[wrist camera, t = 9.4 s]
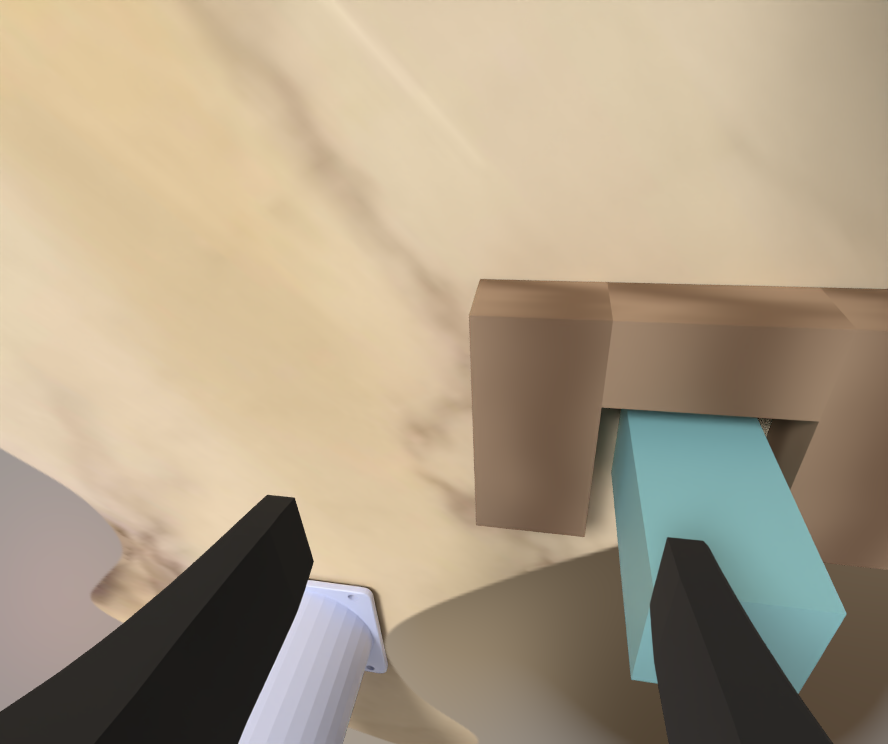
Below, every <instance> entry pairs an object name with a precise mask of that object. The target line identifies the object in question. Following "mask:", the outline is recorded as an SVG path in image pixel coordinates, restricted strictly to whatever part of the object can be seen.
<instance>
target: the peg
mask: <svg viewBox="0 0 888 744" xmlns="http://www.w3.org/2000/svg"><path fill="white" fill-rule="evenodd" d="M611 474H612V485H613V495H614V506H615V516H616V527H617V537H618V548H619V557H620V569H621V579H622V588H623V589H622V590H623V599H624V611H625V620H626V631H627V642H628V653H629V663H630V673H631V679H632V680H638V681H645V682H651V683H658V682H657V677H656V671H655V665H654V656H653V645H652V632H651V618H650V601H651V597H652V593H653V589H654V585H655V581H656V578H657V574H658V570H659V566H660V562H661V559H662V555H663V551H664V547H665V543H666V539H667V537H673V538H682V539H692V540H701V541H704V542H705V543H706V544H707V545H708V546H709V548H710V550H711V552H712V554H713V555H714V557H715V559H716V561H717V563H718V565H719V567H720V568H721V570H722V572H723V574H724V576H725V577H726V579H727V581H728V583H729V584H730V586H731V588H732V590H733V591H734V593H735V595H736V597H737V598H738V600H739V602H740V603H741V605H742V607H743V608H744V610H745V612H746V613H747V615H748V617H749V619H750V620H751V622H752V623H753V625H754V627H755V628H756V630H757V631H758V633H759V635H760V636H761V638H762V640H763V641H764V643H765V644H766V646H767V647H768V649H769V650H770V652H771V653H772V655H773V656H774V658H775V660H776V661H777V663H778V664H779V666H780V667H781V669H782V670H783V672H784V673H785V675H786V677H787V678H788V680H789V681H790V683H791V684H792V686H793V687H794V688H795V690H796V691H797V693H799V692H800V690H801V688H802V687H803V685H804V683H805V682H806V680H807V679H808V677H809V675H810V673H811V672H812V670H813V669H814V667H815V665H816V664H817V662H818V660H819V659H820V657H821V655H822V654H823V652H824V650H825V649H826V647H827V645H828V644H829V642H830V640H831V639H832V637H833V635H834V634H835V632H836V631H837V629H838V627H839V626H840V624H841V622H842V621H843V619H844V617H845V615H846V612H845V610H844V607H843V605H842V603H841V601H840V599H839V597H838V594H837V592H836V590H835V588H834V586H833V583H832V581H831V579H830V577H829V574H828V572H827V570H826V568H825V566H824V563H823V561H822V559H821V557H820V555H819V553H818V550H817V548H816V546H815V544H814V542H813V539H812V537H811V535H810V533H809V531H808V528H807V526H806V524H805V522H804V520H803V517H802V515H801V513H800V511H799V509H798V506H797V504H796V502H795V500H794V498H793V496H792V493H791V491H790V489H789V487H788V485H787V482H786V480H785V478H784V476H783V474H782V471H781V469H780V467H779V465H778V463H777V460H776V458H775V456H774V454H773V452H772V450H771V447H770V445H769V443H768V441H767V439H766V436H765V434H764V432H763V430H762V428H761V425H760V423H759V421H758V419H757V418H756V417H741V416H726V415H710V414H695V413H680V412H665V411H649V410H634V409H621V412H620V419H619V426H618V432H617V439H616V445H615V452H614V458H613V465H612V471H611Z"/></svg>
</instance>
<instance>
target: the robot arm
mask: <svg viewBox="0 0 888 744" xmlns="http://www.w3.org/2000/svg"><path fill="white" fill-rule="evenodd" d="M313 562H314V561H313V558H312V554H311V551H310V547H309V544H308V541H307V537H306V534H305V531H304V527H303V524H302V521H301V517H300V514H299V511H298V507H297V504H296V501H295V498H292V497H283V496H273V495H267V496H265V497H264V498H263V499H262V500H261V501H260V502H259V503H258V504H257V505H256V506H254V507H253V508H252V509H251V510H250V511H249V512H248V513H247V514H246V515H245V516H244V517H243V518H241V519H240V520H239V521H238V522H237V523H236V524H235V525H234V526H233V527H232V528H231V529H230V530H229V531H228V532H227V533H226V534H224V535H223V536H222V537H221V538H220V539H219V540H218V541H217V542H216V543H215V544H214V545H213V546H212V547H210V548H209V549H208V550H207V551H206V552H205V553H204V554H203V555H202V556H201V557H200V558H198V559H197V560H196V561H195V562H194V563H193V564H192V565H191V566H190V567H188V568H187V569H186V570H185V571H184V572H183V573H182V574H181V575H180V576H178V577H177V578H176V579H175V580H174V581H173V582H172V583H171V584H169V585H168V586H167V587H166V588H165V589H164V590H163V591H161V592H160V593H159V594H158V595H157V596H155V597H154V598H153V599H152V600H151V601H149V602H148V603H147V604H146V605H145V606H143V607H142V608H141V609H140V610H139V611H138V612H136V613H135V614H134V615H133V616H132V617H130V618H129V619H128V620H127V621H126V622H124V623H123V624H122V625H121V626H119V627H118V628H117V629H116V630H115V631H113V632H112V633H111V634H109V635H108V636H107V637H105V638H104V639H103V640H102V641H101V642H99V643H98V644H96V645H95V646H94V647H92V648H91V649H90V650H89V651H87V652H86V653H84V654H83V655H82V656H80V657H79V658H78V659H76V660H75V661H74V662H72V663H71V664H70V665H68V666H67V667H66V668H64V669H63V670H61V671H60V672H59V673H57V674H56V675H54V676H53V677H51V678H50V679H48V680H47V681H45V682H44V683H43V684H41V685H39V686H38V687H36V688H35V689H34V690H32V691H31V692H29V693H28V694H26V695H25V696H23V697H22V698H20V699H19V700H17V701H16V702H14V703H13V704H11V705H10V706H8V707H7V708H5V709H4V710H2V711H1V712H0V744H343V741H344V738H345V734H346V731H347V728H348V724H349V721H350V718H351V714H352V711H353V708H354V704H355V701H356V698H357V694H358V691H359V688H360V684H361V681H362V678H363V674H364V671H369V672H375V673H385V672H386V671H387V667H388V662H387V658H386V653H385V648H384V644H383V639H382V634H381V630H380V625H379V620H378V616H377V611H376V606H375V602H374V597H373V594H372V592H371V591H370V590H369V589H367V588H364V587H358V586H351V585H343V584H336V583H329V582H321V581H314V580H308V579H309V575H310V572H311V569H312V566H313ZM650 618H651V632H652V645H653V656H654V665H655V671H656V677H657V682H658V688H659V693H660V698H661V704H662V709H663V715H664V720H665V725H666V731H667V736H668V742H669V744H833V743H832V741H831V740H830V738H829V737H828V736H827V734H826V733H825V731H824V730H823V729H822V727H821V726H820V724H819V723H818V722H817V720H816V719H815V717H814V716H813V715H812V713H811V712H810V710H809V709H808V708H807V706H806V705H805V703H804V702H803V700H802V699H801V697H800V696H799V694H798V693H797V691H796V690H795V688H794V687H793V686H792V684H791V683H790V681H789V680H788V678H787V677H786V675H785V673H784V672H783V670H782V669H781V667H780V666H779V664H778V663H777V661H776V660H775V658H774V656H773V655H772V653H771V652H770V650H769V649H768V647H767V646H766V644H765V643H764V641H763V640H762V638H761V636H760V635H759V633H758V631H757V630H756V628H755V627H754V625H753V623H752V622H751V620H750V619H749V617H748V615H747V613H746V612H745V610H744V608H743V607H742V605H741V603H740V602H739V600H738V598H737V597H736V595H735V593H734V591H733V590H732V588H731V586H730V584H729V583H728V581H727V579H726V577H725V576H724V574H723V572H722V570H721V568H720V567H719V565H718V563H717V561H716V559H715V557H714V555H713V554H712V552H711V550H710V548H709V546H708V545H707V544H706V543H705V542H704V541H701V540H692V539H682V538H673V537H667V539H666V543H665V547H664V551H663V555H662V559H661V562H660V566H659V570H658V574H657V578H656V581H655V585H654V589H653V593H652V597H651V601H650Z"/></svg>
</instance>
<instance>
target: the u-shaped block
mask: <svg viewBox="0 0 888 744" xmlns="http://www.w3.org/2000/svg"><path fill="white" fill-rule="evenodd" d="M469 329H470V358H471V387H472V416H473V445H474V474H475V502H476V525H478V526H488V527H497V528H506V529H515V530H525V531H534V532H543V533H552V534H562V535H571V536H580V537H584V536H585V529H586V521H587V514H588V506H589V499H590V491H591V484H592V476H593V469H594V461H595V453H596V446H597V438H598V431H599V423H600V416H601V408H602V407H603V408H619V409H634V410H649V411H665V412H680V413H695V414H710V415H726V416H741V417H756V418H772V419H773V421H772V424H771V426H770V429H769V432H768V435H767V438H766V439H767V441H768V443H769V445H770V447H771V450H772V452H773V454H774V456H775V458H776V460H777V463H778V465H779V467H780V469H781V471H782V474H783V476H784V478H785V480H786V482H787V485H788V487H789V489H790V491H791V493H792V496H793V498H794V500H795V502H796V504H797V506H798V509H799V511H800V513H801V515H802V517H803V520H804V522H805V524H806V526H807V528H808V531H809V533H810V535H811V537H812V539H813V542H814V544H815V546H816V548H817V550H818V553H819V555H820V557H821V559H822V561H823V563H830V564H839V565H849V566H858V567H867V568H876V569H886V570H888V289H853V288H812V287H772V286H732V285H691V284H651V283H610V282H570V281H529V280H489V279H480V281H479V285H478V288H477V291H476V294H475V298H474V301H473V304H472V307H471V311H470V314H469Z"/></svg>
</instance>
